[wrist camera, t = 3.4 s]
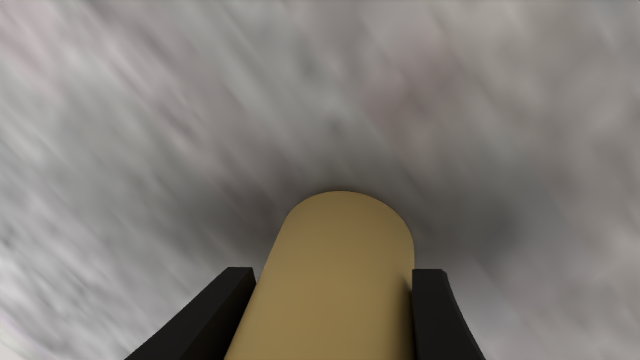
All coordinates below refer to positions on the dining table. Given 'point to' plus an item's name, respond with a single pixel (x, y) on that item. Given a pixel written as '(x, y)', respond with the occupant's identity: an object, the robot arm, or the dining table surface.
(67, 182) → the dining table surface
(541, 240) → the dining table surface
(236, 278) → the robot arm
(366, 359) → the pin
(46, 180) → the dining table surface
